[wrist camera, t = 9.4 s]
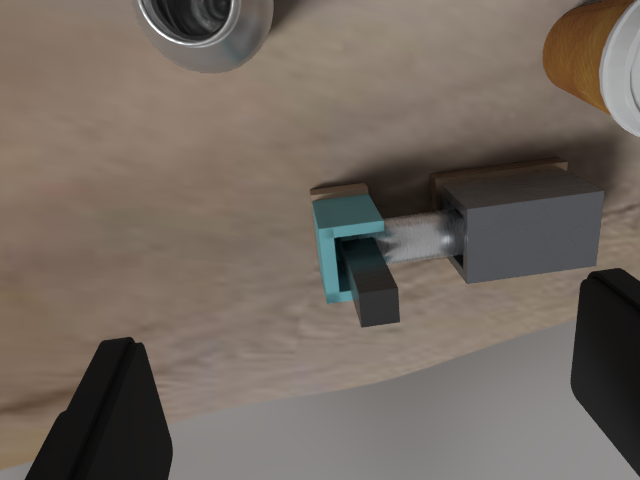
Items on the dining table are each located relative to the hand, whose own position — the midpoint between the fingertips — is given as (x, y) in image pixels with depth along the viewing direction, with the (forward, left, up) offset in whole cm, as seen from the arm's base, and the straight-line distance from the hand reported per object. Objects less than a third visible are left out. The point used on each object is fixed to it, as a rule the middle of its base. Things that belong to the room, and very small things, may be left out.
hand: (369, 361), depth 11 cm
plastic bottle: (-8, -4, -32) cm, 34 cm away
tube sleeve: (+10, +16, -32) cm, 37 cm away
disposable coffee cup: (-2, +23, -32) cm, 40 cm away
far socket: (+10, +3, -32) cm, 34 cm away
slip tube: (+10, +8, -30) cm, 32 cm away
